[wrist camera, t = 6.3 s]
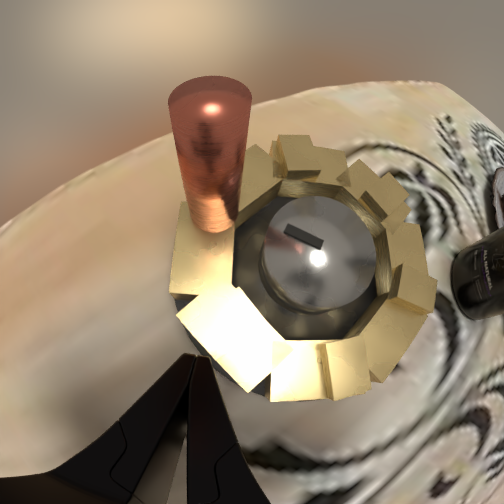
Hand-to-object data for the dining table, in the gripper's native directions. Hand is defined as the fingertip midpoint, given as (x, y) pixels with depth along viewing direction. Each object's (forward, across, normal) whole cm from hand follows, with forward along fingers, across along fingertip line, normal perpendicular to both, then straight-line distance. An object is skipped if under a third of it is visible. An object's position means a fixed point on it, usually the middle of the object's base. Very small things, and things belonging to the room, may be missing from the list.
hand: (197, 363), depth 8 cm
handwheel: (+8, -5, 0) cm, 10 cm away
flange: (+10, -5, +1) cm, 11 cm away
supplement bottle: (+10, -22, +1) cm, 24 cm away
